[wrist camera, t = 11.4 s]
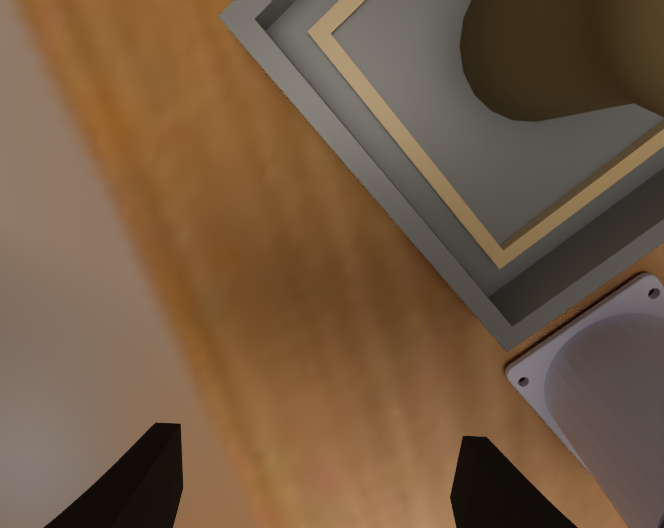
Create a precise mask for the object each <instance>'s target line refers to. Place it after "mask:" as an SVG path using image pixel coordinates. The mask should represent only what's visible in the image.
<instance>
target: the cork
mask: <svg viewBox="0 0 664 528" xmlns="http://www.w3.org/2000/svg"><path fill="white" fill-rule="evenodd" d="M459 47H460V54H461V60H462V67H463V73H464V75H465V77H466V79H467V81H468V83H469V85H470V87H471V89H472V91H473V93H474V95H475V96H476V97H477V98H478V99H479V100H480V101H481V102H482V103H483V104H484V105H486V106H487V107H488V108H489V109H490V110H491V111H492V112H495V113H497V114H499V115H501V116H504V117H506V118H508V119H510V120H514V121H529V122H538V121H544V120H549V119H554V118H559V117H565V116H570V115H575V114H581V113H586V112H591V111H596V110H602V109H607V108H612V107H617V106H623V105H628V104H633V103H635V104H637V105H638V106H640V107H642V108H645V109H647V110H649V111H651V112H653V113H656V114H658V115H660V116H662V117H664V0H471V2H470V4H469V7H468V9H467V11H466V14H465V16H464V18H463V25H462V32H461V39H460V46H459Z"/></svg>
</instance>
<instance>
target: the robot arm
mask: <svg viewBox="0 0 664 528" xmlns="http://www.w3.org/2000/svg"><path fill="white" fill-rule="evenodd" d="M653 288H654V292H653V293H652V294H650V295H648V293H649V291H650V290H651V289H653ZM505 375H506V377H507V379H508V380H509V381H510V383H511V384H512V385H513V386H514V387H515V388H516V389H517V391H518V392H519V393H520V394H521V395H522V396H523V397H524V399H525V400H526V401H527V402H528V403H529V404H530V405H531V407H532V408H533V409H534V410H535V411H536V412H537V413H538V414H539V416H540V417H541V418H542V419H543V420H544V421H545V422H546V424H547V425H548V426H549V427H550V428H551V429H552V430H553V432H554V433H555V434H556V435H557V436H558V437H559V438H560V440H561V441H562V442H563V443H564V444H565V445H566V446H567V448H568V449H569V450H570V451H571V452H572V453H573V454H574V456H575V457H576V458H577V459H578V460H579V461H580V462H581V463H582V465H583V466H584V467H585V468H586V469H587V470H588V471H589V473H590V474H591V475H592V476H593V477H594V478H595V480H596V481H597V483H598V484H599V486H600V487H601V489H602V490H603V491H604V493H605V494H606V496H607V497H608V499H609V500H610V502H611V503H612V504H613V506H614V507H615V509H616V510H617V512H618V513H619V515H620V516H621V517H622V519H623V520H624V522H625V523H626V525H627V526H628V528H664V286H663V285H662V283H661V282H660V281H659V279H658V278H657V277H656V276H654V275H652V274H650V273H642V274H640V275H638V276H637V277H635V278H634V279H632V280H631V281H629V282H628V283H626V284H625V285H624V286H622V287H621V288H619V289H618V290H616V291H615V292H613V293H612V294H611V295H609V296H608V297H606V298H605V299H603V300H602V301H600V302H599V303H598V304H596V305H595V306H593V307H592V308H590V309H589V310H587V311H586V312H585V313H583V314H582V315H580V316H579V317H577V318H576V319H574V320H573V321H572V322H570V323H569V324H567V325H566V326H564V327H563V328H561V329H560V330H559V331H557V332H556V333H554V334H553V335H551V336H550V337H548V338H547V339H546V340H544V341H543V342H541V343H540V344H538V345H537V346H535V347H534V348H533V349H531V350H530V351H528V352H527V353H525V354H524V355H522V356H521V357H520V358H518V359H517V360H515V361H514V362H512V363H511V364H509V365H508V366H507V367H506V370H505ZM523 377H526V378H525V380H524V381H522V382H518V381H519V379H520V378H523ZM182 490H183V472H182V447H181V424H173V423H172V424H171V423H155V424H154V425H153V426H152V427H150V429H149V430H148V431H147V432H146V433H145V434H144V435H143V436H142V437H141V438H140V439H139V440H138V441H137V442H136V443H135V444H134V445H133V446H132V447H131V448H130V449H129V450H128V451H127V452H126V453H125V454H124V455H123V456H122V457H121V458H120V459H119V460H118V461H117V462H116V463H115V464H114V465H113V466H112V467H111V468H110V469H109V470H108V471H107V472H106V473H105V474H104V475H103V476H102V477H101V478H100V479H99V480H98V481H96V483H94V484H93V485H92V486H91V487H90V488H89V489H88V490H87V491H86V492H84V493H83V494H82V495H81V496H80V497H79V498H78V499H77V500H75V501H74V502H73V503H72V504H71V505H70V506H69V507H67V509H65V510H64V511H63V512H62V513H61V514H59V515H58V516H57V517H56V518H55V519H53V520H52V521H51V522H50V523H49V524H47V525H46V526H45V527H44V528H173V525H174V521H175V518H176V514H177V510H178V506H179V502H180V498H181V494H182ZM450 499H451V504H452V509H453V513H454V518H455V523H456V527H457V528H578V527H576V526H575V525H574V524H573V523H572V522H571V521H570V520H569V519H568V518H566V517H565V516H564V515H563V514H562V513H561V512H560V511H559V510H558V509H557V508H556V507H555V506H554V505H553V504H552V503H551V502H550V501H548V500H547V499H546V498H545V497H544V496H543V495H542V494H541V493H540V492H539V491H538V490H537V489H536V488H535V487H534V486H533V485H532V484H531V483H530V482H529V481H528V480H527V479H526V478H525V477H524V475H523V474H522V473H521V472H520V471H519V470H518V469H517V468H516V467H515V466H514V465H513V464H512V463H511V462H510V461H509V460H508V459H507V458H506V457H505V456H504V455H503V454H502V453H501V452H500V451H499V449H498V448H497V447H496V446H495V445H494V444H493V443H492V442H491V441H490V440H489V439H488V438H487V437H476V436H463V438H462V443H461V448H460V452H459V457H458V462H457V467H456V472H455V476H454V481H453V486H452V491H451V496H450Z"/></svg>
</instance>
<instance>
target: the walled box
mask: <svg viewBox="0 0 664 528" xmlns="http://www.w3.org/2000/svg"><path fill="white" fill-rule="evenodd" d="M470 2H471V0H233V1H232V2H231V3H230V5H229V6H228V7H227V8H226V9H225V10H224V11H223V12H222V13H221V14H220V15H219V16H218V17H219V18H220V19H221V20H222V21H223V22H224V24H225V25H226V26H227V27H228V28H229V29H230V31H231V32H232V33H233V34H234V35H235V36H236V38H237V39H238V40H239V41H240V42H241V43H242V45H243V46H244V47H245V48H246V49H247V50H248V52H249V53H250V54H251V55H252V56H253V57H254V59H255V60H256V61H257V62H258V63H259V64H260V66H261V67H262V68H263V69H264V70H265V71H266V73H267V74H268V75H269V76H270V77H271V78H272V80H273V81H274V82H275V83H276V84H277V85H278V87H279V88H280V89H281V90H282V91H283V92H284V94H285V95H286V96H287V97H288V98H289V99H290V100H291V102H292V103H293V104H294V105H295V106H296V107H297V109H298V110H299V111H300V112H301V113H302V114H303V116H304V117H305V118H306V119H307V120H308V121H309V123H310V124H311V125H312V126H313V127H314V128H315V130H316V131H317V132H318V133H319V134H320V135H321V137H322V138H323V139H324V140H325V141H326V142H327V144H328V145H329V146H330V147H331V148H332V149H333V151H334V152H335V153H336V154H337V155H338V156H339V158H340V159H341V160H342V161H343V162H344V163H345V165H346V166H347V167H348V168H349V169H350V170H351V172H352V173H353V174H354V175H355V176H356V177H357V178H358V180H359V181H360V182H361V183H362V184H363V185H364V187H365V188H366V189H367V190H368V191H369V192H370V194H371V195H372V196H373V197H374V198H375V199H376V201H377V202H378V203H379V204H380V205H381V206H382V208H383V209H384V210H385V211H386V212H387V213H388V215H389V216H390V217H391V218H392V219H393V220H394V222H395V223H396V224H397V225H398V226H399V227H400V229H401V230H402V231H403V232H404V233H405V234H406V236H407V237H408V238H409V239H410V240H411V241H412V243H413V244H414V245H415V246H416V247H417V248H418V250H419V251H420V252H421V253H422V254H423V255H424V257H425V258H426V259H427V260H428V261H429V262H430V263H431V265H432V266H433V267H434V268H435V269H436V270H437V272H438V273H439V274H440V275H441V276H442V277H443V279H444V280H445V281H446V282H447V283H448V284H449V286H450V287H451V288H452V289H453V290H454V291H455V293H456V294H457V295H458V296H459V297H460V298H461V300H462V301H463V302H464V303H465V304H466V305H467V307H468V308H469V309H470V310H471V311H472V312H473V314H474V315H475V316H476V317H477V318H478V319H479V321H480V322H481V323H482V324H483V325H484V326H485V328H486V329H487V330H488V331H489V332H490V333H491V335H492V336H493V337H494V338H495V339H496V340H497V342H498V343H499V344H500V345H501V346H502V347H503V348H504V350H505V351H506V352H508V351H509V350H511V349H512V348H514V347H515V346H516V345H518V344H519V343H521V342H522V341H524V340H525V339H526V338H528V337H529V336H531V335H532V334H534V333H535V332H536V331H538V330H539V329H541V328H542V327H544V326H545V325H546V324H548V323H549V322H551V321H552V320H554V319H555V318H556V317H558V316H559V315H561V314H562V313H564V312H565V311H566V310H568V309H569V308H571V307H572V306H574V305H575V304H576V303H578V302H579V301H581V300H582V299H584V298H585V297H586V296H588V295H589V294H591V293H592V292H594V291H595V290H596V289H598V288H599V287H601V286H602V285H604V284H605V283H606V282H608V281H609V280H611V279H612V278H614V277H615V276H616V275H618V274H619V273H621V272H622V271H624V270H625V269H626V268H628V267H629V266H631V265H632V264H634V263H635V262H636V261H638V260H639V259H641V258H642V257H644V256H645V255H646V254H648V253H649V252H651V251H652V250H654V249H655V248H656V247H658V246H659V245H661V244H662V243H664V117H662V116H660V115H658V114H656V113H653V112H651V111H649V110H647V109H645V108H642V107H640V106H638V105H637V104H635V103H633V104H628V105H623V106H617V107H612V108H607V109H602V110H596V111H591V112H586V113H581V114H575V115H570V116H565V117H559V118H554V119H549V120H544V121H538V122H529V121H514V120H510V119H508V118H506V117H504V116H501V115H499V114H497V113H495V112H492V111H491V110H490V109H489V108H488V107H487V106H486V105H484V104H483V103H482V102H481V101H480V100H479V99H478V98H477V97H476V96H475V95H474V93H473V91H472V89H471V87H470V85H469V83H468V81H467V79H466V77H465V75H464V73H463V67H462V60H461V54H460V47H459V46H460V39H461V32H462V25H463V18H464V16H465V14H466V11H467V9H468V7H469V4H470Z"/></svg>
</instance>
